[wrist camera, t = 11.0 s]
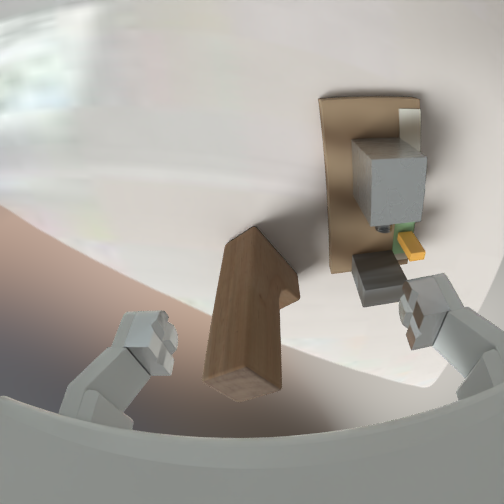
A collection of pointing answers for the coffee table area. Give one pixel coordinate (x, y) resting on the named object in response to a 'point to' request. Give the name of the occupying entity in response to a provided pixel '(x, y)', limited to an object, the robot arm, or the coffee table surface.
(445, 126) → the coffee table surface
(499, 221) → the coffee table surface
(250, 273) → the wooden block
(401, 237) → the amber brick
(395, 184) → the block
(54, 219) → the coffee table surface
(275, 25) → the coffee table surface
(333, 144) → the bench
